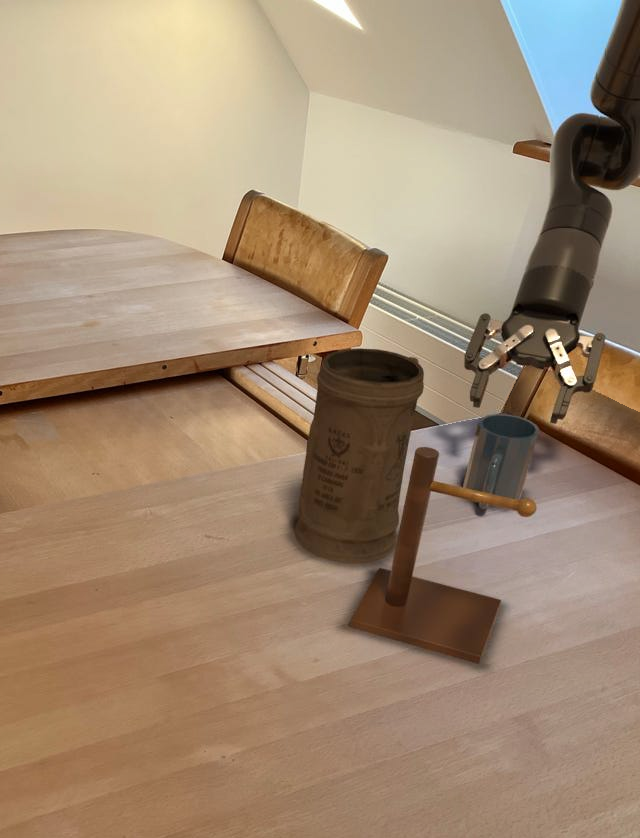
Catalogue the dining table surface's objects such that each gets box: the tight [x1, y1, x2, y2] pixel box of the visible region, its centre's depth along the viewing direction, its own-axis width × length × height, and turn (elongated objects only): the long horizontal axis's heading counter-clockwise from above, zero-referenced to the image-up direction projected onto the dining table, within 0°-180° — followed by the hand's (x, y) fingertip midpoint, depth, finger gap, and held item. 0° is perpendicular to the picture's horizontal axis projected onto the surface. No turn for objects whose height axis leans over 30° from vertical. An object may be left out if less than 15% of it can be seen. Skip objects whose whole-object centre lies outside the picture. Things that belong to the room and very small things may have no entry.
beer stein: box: [293, 347, 425, 565], centre depth 99 cm, size 15×11×20 cm
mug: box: [462, 413, 540, 510], centre depth 108 cm, size 10×6×9 cm, turn 154°
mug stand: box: [348, 446, 537, 665], centre depth 87 cm, size 13×10×17 cm
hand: (514, 412), depth 109 cm, fingers open, 8 cm apart
